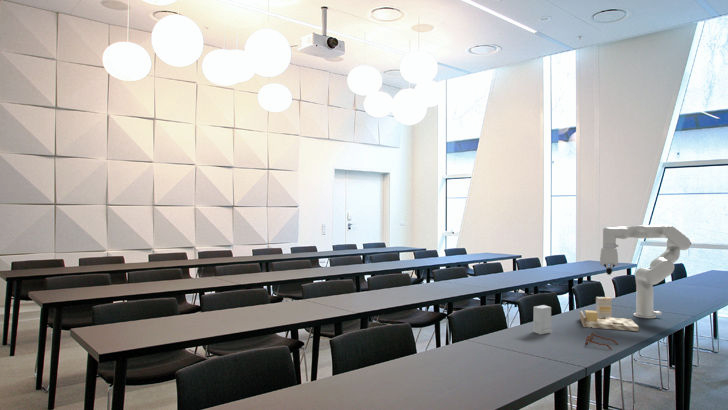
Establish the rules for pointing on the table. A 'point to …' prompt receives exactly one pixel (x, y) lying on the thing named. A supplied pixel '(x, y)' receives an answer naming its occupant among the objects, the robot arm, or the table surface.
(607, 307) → the supplement box
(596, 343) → the glasses
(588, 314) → the ochre block
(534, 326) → the skincare box
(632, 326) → the cream sorting tray
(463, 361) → the table surface
